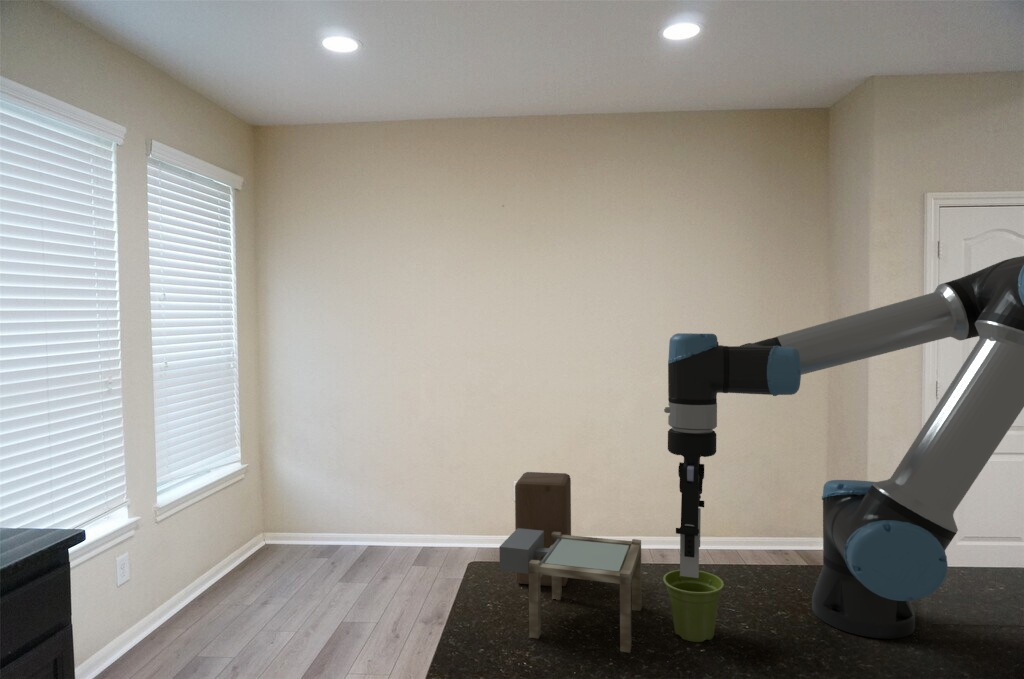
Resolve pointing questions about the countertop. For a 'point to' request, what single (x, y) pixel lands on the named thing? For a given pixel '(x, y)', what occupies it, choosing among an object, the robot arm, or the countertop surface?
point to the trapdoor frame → (623, 578)
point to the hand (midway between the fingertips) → (690, 560)
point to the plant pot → (694, 604)
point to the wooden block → (543, 510)
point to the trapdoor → (559, 553)
